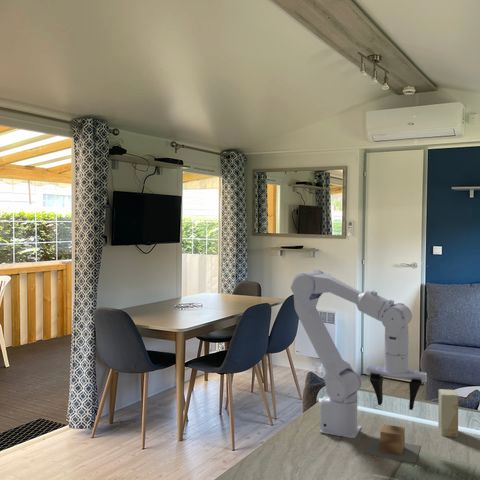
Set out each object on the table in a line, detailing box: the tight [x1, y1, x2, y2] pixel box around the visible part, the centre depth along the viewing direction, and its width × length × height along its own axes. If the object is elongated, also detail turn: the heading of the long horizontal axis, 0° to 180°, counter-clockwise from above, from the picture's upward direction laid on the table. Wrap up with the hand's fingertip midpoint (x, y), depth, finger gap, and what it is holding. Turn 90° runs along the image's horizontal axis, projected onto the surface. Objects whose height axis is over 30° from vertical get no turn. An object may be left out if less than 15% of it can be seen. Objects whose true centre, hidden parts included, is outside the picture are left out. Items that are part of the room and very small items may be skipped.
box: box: [437, 388, 459, 438], centre depth 144 cm, size 5×4×11 cm
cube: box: [379, 424, 406, 455], centre depth 133 cm, size 5×5×5 cm
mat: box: [363, 437, 421, 464], centre depth 133 cm, size 12×10×1 cm
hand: (395, 406), depth 137 cm, fingers open, 7 cm apart
